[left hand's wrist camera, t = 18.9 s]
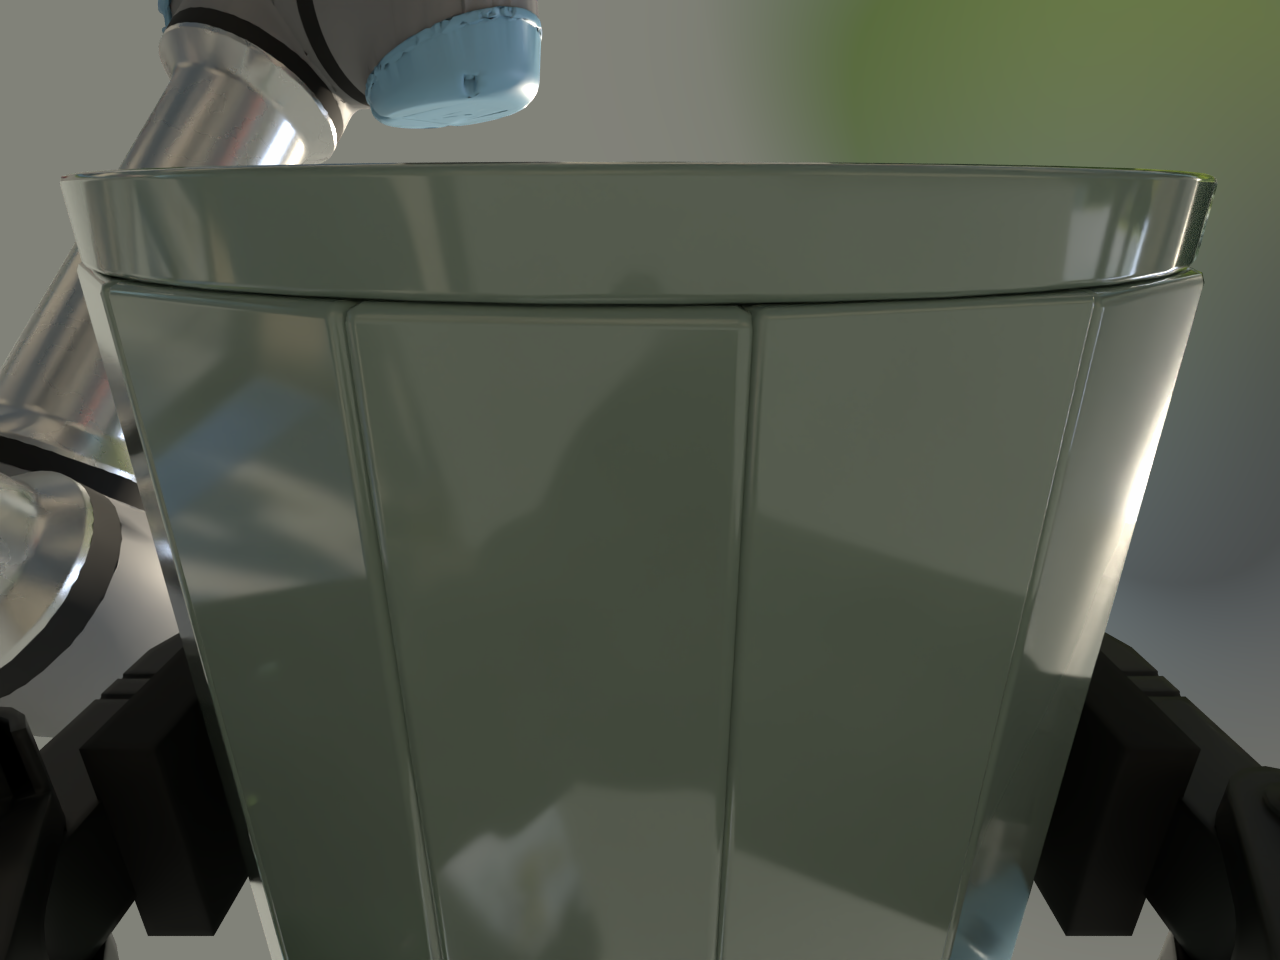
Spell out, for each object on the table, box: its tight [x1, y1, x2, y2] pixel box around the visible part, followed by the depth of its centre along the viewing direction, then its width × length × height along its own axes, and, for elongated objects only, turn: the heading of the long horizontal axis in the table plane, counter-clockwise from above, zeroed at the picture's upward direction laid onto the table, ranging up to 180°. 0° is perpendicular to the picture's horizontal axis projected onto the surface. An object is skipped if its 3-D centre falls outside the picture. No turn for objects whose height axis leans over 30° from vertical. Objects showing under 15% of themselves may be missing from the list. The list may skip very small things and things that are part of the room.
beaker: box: [60, 162, 1217, 960], centre depth 10 cm, size 10×10×12 cm
